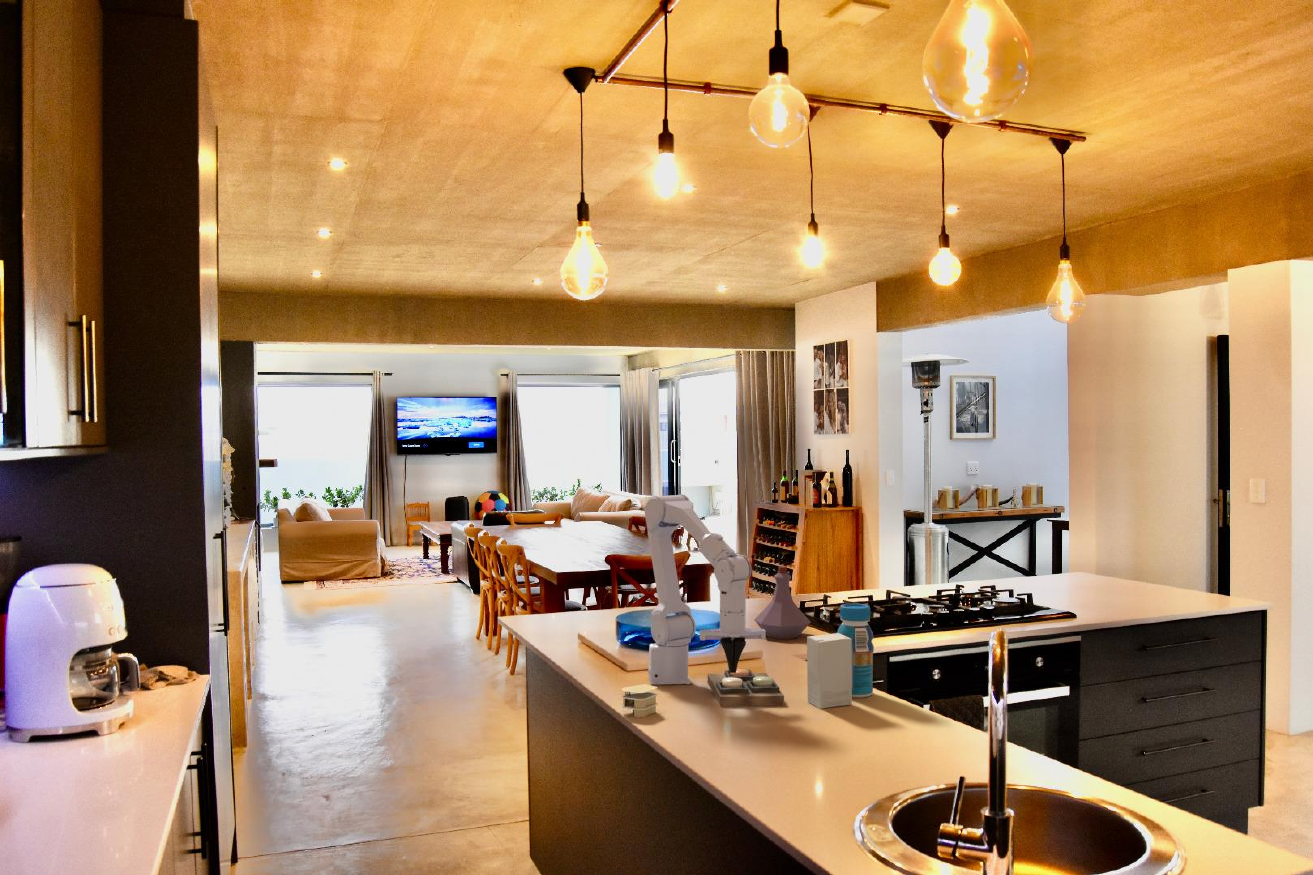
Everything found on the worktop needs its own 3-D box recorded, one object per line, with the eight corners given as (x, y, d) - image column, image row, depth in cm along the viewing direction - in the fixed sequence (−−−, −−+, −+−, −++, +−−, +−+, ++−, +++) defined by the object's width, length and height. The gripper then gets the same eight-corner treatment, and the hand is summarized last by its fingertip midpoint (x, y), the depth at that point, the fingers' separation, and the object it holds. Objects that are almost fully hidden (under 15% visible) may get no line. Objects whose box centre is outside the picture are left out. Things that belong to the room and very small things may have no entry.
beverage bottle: (830, 695, 222) (831, 606, 222) (841, 686, 229) (842, 601, 229) (867, 700, 218) (868, 610, 218) (877, 691, 225) (878, 604, 225)
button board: (720, 705, 213) (720, 692, 213) (707, 682, 233) (707, 669, 233) (784, 704, 214) (784, 691, 214) (765, 681, 234) (765, 668, 234)
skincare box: (838, 698, 219) (839, 632, 219) (853, 705, 213) (853, 637, 213) (805, 702, 216) (805, 634, 216) (819, 709, 211) (819, 640, 210)
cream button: (723, 688, 216) (723, 682, 216) (720, 682, 220) (720, 677, 220) (743, 687, 216) (743, 682, 216) (740, 682, 221) (740, 677, 221)
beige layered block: (639, 705, 214) (639, 680, 214) (670, 713, 208) (670, 687, 208) (607, 715, 207) (607, 689, 207) (638, 724, 201) (638, 697, 201)
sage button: (754, 686, 217) (755, 681, 217) (751, 681, 222) (751, 676, 222) (774, 686, 218) (774, 681, 218) (770, 681, 222) (770, 676, 222)
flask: (822, 637, 284) (823, 568, 284) (779, 644, 275) (780, 572, 274) (784, 627, 297) (785, 561, 297) (742, 633, 288) (742, 565, 288)
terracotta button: (731, 678, 227) (731, 673, 227) (728, 674, 231) (728, 668, 231) (750, 678, 227) (750, 673, 227) (747, 673, 232) (747, 668, 232)
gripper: (702, 614, 214) (702, 676, 214) (768, 613, 215) (768, 675, 215) (698, 608, 221) (698, 668, 221) (762, 607, 222) (762, 667, 222)
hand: (732, 671), depth 218 cm, fingers closed
